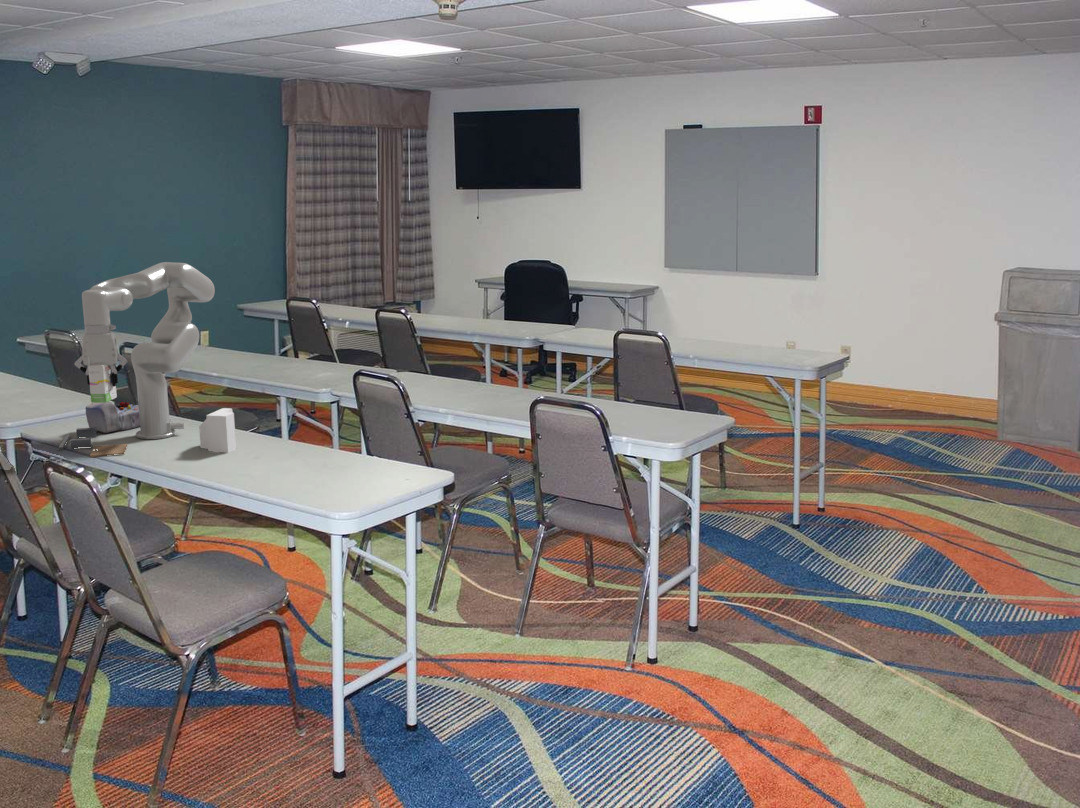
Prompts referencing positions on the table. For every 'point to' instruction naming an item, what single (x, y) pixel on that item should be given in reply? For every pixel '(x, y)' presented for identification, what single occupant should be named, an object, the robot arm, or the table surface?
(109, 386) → the ink box
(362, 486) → the table surface
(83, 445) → the vise jaws
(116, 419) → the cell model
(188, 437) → the table surface
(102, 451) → the walnut board
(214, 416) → the white chunky block
